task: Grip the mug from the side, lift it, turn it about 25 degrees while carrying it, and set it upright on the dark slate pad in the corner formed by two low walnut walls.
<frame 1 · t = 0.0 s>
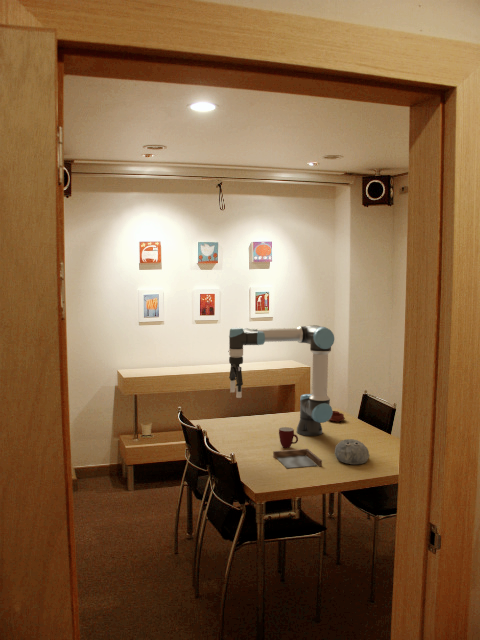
hand: (235, 394, 301), 28 cm above the table, fingers open, 13 cm apart
pottery: (335, 419, 360), on the table
decorative stone: (351, 460, 282), on the table
mug: (288, 447, 300), on the table
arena: (296, 461, 277), on the table
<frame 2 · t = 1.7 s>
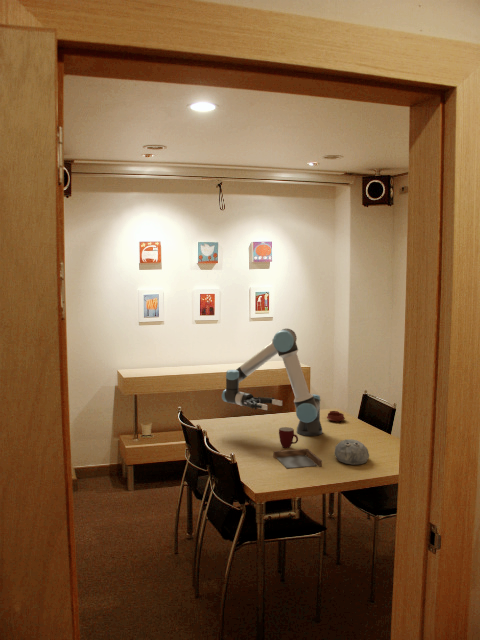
hand: (274, 405, 305), 22 cm above the table, fingers open, 13 cm apart
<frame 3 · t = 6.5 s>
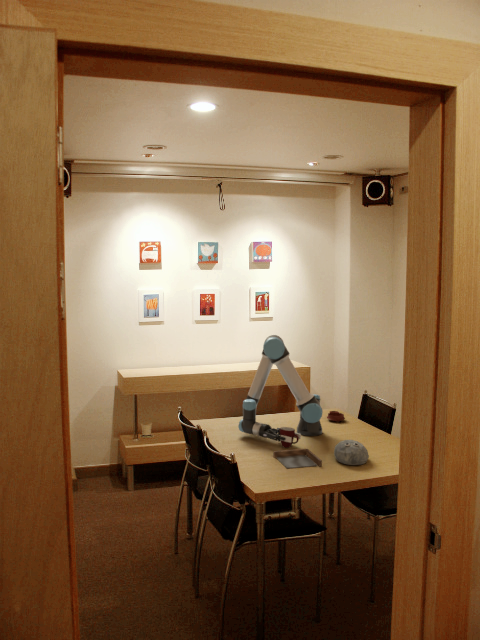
hand: (295, 438, 297), 6 cm above the table, fingers closed on mug, 8 cm apart
mug: (288, 447, 300), on the table, touching gripper
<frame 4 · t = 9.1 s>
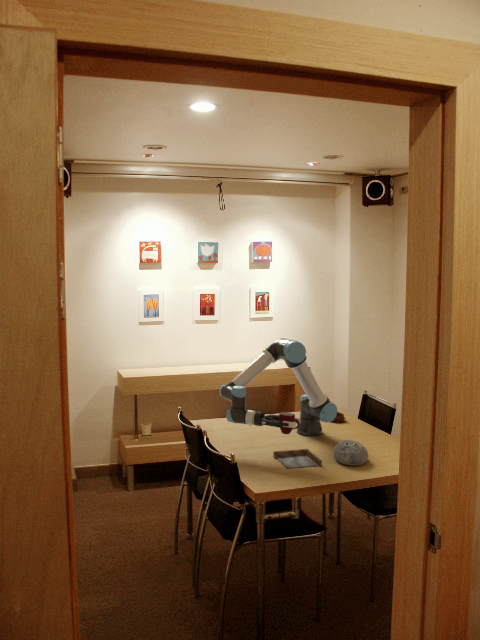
hand: (297, 423, 279), 19 cm above the table, fingers closed on mug, 8 cm apart
mug: (288, 433, 281), point 13 cm above the table, touching gripper
when the fingers open (8 cm above the table, at t = 11.8 s): mug drops 2 cm, resting on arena.
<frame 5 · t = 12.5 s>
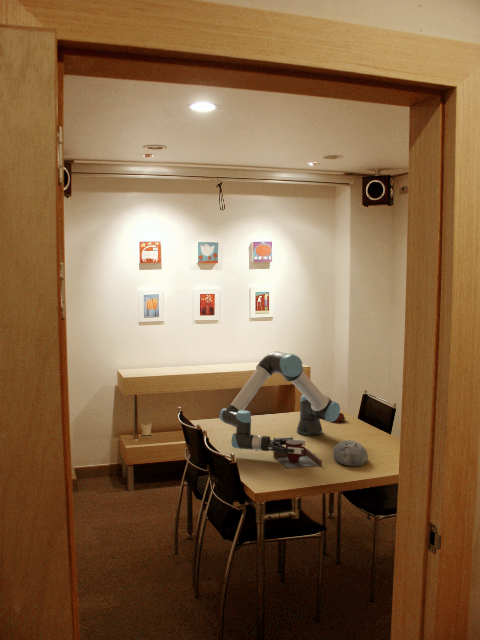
hand: (303, 446, 276), 8 cm above the table, fingers open, 13 cm apart
mug: (295, 461, 277), resting on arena
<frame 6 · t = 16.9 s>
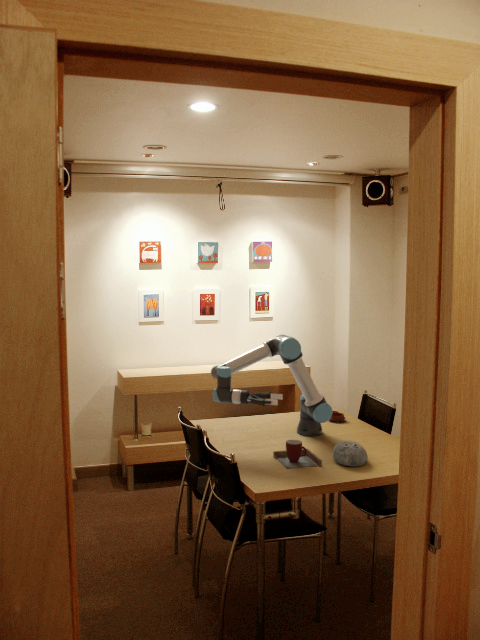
hand: (280, 399, 291), 28 cm above the table, fingers open, 13 cm apart
at the end: mug inside the target area on the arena (0.4 cm from its centre), point 0.2 cm above the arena's base; mug tilted 0°; the gripper is holding nothing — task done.
